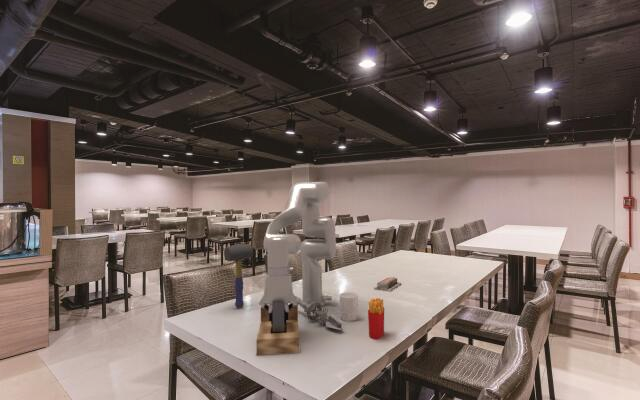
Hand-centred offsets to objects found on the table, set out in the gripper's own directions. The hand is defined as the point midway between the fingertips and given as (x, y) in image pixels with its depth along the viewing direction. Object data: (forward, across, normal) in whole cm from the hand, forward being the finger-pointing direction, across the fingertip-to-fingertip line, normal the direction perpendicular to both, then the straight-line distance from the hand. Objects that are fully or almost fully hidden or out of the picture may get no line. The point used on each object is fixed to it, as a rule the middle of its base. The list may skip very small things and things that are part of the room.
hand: (278, 322), depth 112 cm
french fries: (+7, -36, -1) cm, 37 cm away
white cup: (+7, -29, -19) cm, 35 cm away
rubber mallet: (+7, +20, -40) cm, 45 cm away
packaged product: (+8, -61, -65) cm, 90 cm away
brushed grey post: (+5, 0, 0) cm, 5 cm away
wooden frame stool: (+7, 0, 0) cm, 7 cm away
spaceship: (+7, -14, -19) cm, 25 cm away
